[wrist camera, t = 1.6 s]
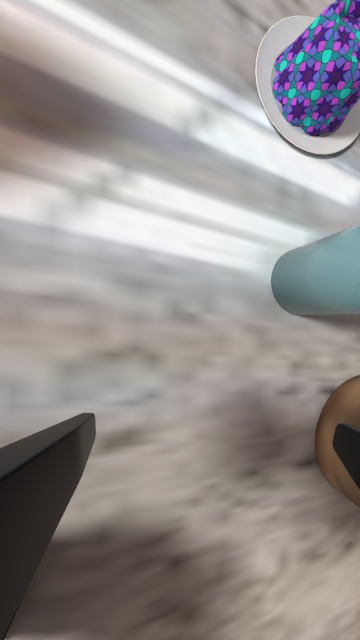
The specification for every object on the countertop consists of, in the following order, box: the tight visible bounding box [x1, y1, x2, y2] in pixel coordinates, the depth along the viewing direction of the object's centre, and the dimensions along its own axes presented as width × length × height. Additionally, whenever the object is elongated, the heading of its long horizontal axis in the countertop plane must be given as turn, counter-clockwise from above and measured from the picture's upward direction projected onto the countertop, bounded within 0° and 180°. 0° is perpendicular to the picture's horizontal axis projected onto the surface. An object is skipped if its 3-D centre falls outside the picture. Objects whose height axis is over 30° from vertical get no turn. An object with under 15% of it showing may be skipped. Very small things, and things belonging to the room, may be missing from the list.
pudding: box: [255, 0, 360, 154], centre depth 21 cm, size 12×12×5 cm
